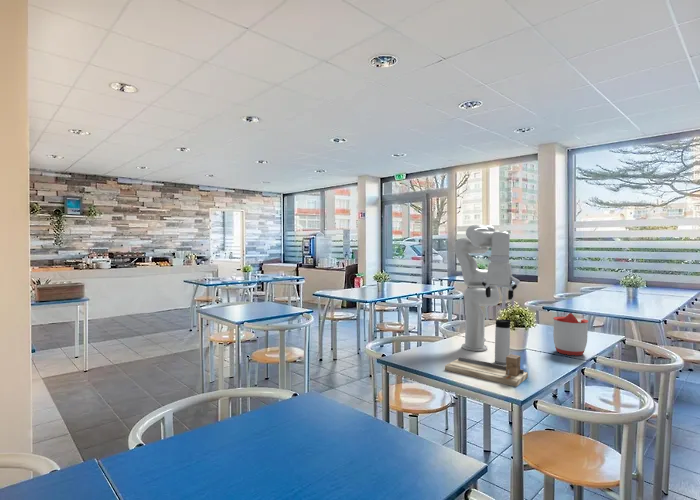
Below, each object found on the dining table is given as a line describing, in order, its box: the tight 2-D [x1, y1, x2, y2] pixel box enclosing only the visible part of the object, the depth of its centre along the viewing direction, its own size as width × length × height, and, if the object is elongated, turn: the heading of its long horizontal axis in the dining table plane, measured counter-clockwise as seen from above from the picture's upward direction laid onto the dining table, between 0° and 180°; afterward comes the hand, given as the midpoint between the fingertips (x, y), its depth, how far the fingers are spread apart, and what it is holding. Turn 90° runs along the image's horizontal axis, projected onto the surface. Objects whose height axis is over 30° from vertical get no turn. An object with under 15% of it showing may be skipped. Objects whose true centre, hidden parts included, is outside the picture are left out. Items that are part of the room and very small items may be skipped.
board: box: [444, 356, 529, 388], centre depth 175 cm, size 14×30×4 cm, turn 50°
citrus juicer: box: [552, 313, 589, 356], centre depth 209 cm, size 16×17×20 cm
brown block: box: [505, 353, 521, 376], centre depth 167 cm, size 8×4×7 cm, turn 140°
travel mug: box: [494, 318, 512, 366], centre depth 190 cm, size 6×7×20 cm
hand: (499, 298), depth 185 cm, fingers open, 9 cm apart
